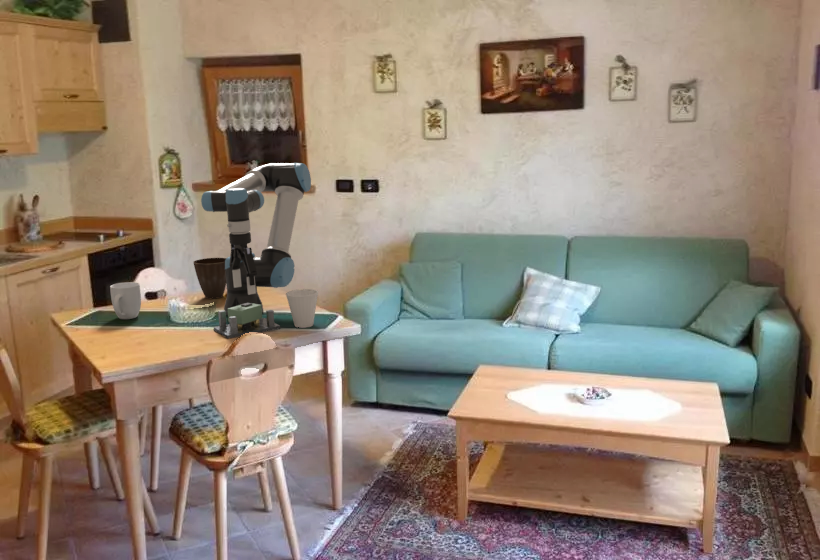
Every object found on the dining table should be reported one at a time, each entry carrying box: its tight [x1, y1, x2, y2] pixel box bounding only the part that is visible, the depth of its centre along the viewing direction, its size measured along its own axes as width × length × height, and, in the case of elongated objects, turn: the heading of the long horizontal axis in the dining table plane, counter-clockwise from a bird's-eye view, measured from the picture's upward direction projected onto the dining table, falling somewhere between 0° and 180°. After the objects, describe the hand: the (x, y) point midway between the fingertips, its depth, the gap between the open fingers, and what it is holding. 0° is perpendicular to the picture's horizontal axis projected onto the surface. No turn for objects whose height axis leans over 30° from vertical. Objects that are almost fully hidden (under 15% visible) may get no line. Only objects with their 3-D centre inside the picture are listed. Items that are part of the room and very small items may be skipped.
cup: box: [285, 288, 319, 329], centre depth 283 cm, size 12×12×12 cm
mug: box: [109, 281, 142, 320], centre depth 300 cm, size 15×11×13 cm
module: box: [227, 303, 263, 324], centre depth 279 cm, size 10×7×6 cm
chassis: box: [213, 304, 281, 339], centre depth 280 cm, size 20×14×7 cm
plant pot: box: [193, 257, 227, 299], centre depth 333 cm, size 15×15×16 cm
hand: (244, 290), depth 278 cm, fingers open, 13 cm apart
